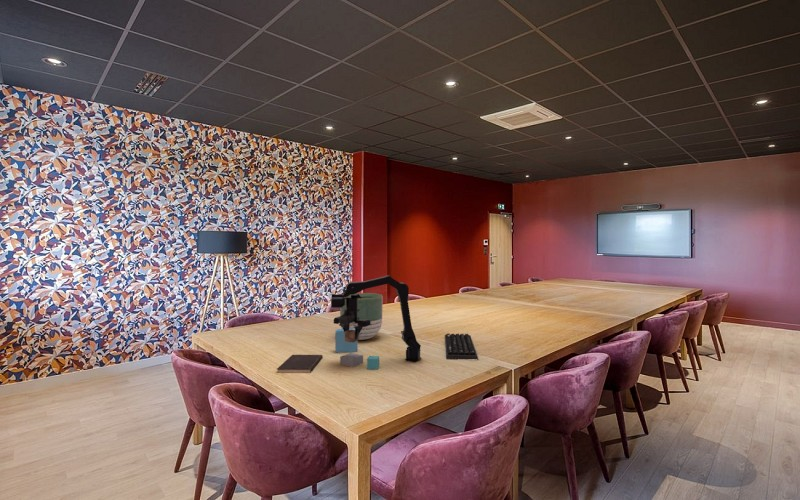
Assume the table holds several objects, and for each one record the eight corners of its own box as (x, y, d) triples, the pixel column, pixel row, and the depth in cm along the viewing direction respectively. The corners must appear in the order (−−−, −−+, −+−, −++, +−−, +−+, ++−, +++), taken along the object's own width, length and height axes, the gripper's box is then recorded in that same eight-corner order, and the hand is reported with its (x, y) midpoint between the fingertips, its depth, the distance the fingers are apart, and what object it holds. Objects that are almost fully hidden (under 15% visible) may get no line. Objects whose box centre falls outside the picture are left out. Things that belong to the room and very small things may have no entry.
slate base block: (363, 363, 193) (363, 355, 193) (352, 367, 186) (352, 359, 186) (351, 360, 197) (351, 352, 197) (340, 364, 191) (340, 356, 191)
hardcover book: (276, 373, 179) (276, 368, 179) (292, 359, 202) (292, 354, 202) (310, 374, 178) (310, 369, 178) (322, 359, 201) (322, 354, 201)
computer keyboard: (444, 338, 243) (444, 332, 243) (470, 339, 241) (470, 333, 241) (446, 360, 198) (446, 352, 198) (477, 361, 197) (477, 353, 196)
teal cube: (379, 366, 187) (379, 356, 187) (377, 369, 182) (377, 359, 182) (369, 366, 188) (369, 355, 188) (367, 369, 183) (366, 358, 183)
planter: (356, 346, 224) (356, 300, 223) (331, 338, 243) (331, 295, 243) (391, 338, 241) (391, 295, 241) (365, 331, 261) (365, 291, 261)
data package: (357, 349, 217) (356, 328, 217) (357, 351, 213) (357, 330, 212) (335, 350, 215) (335, 329, 215) (335, 352, 210) (335, 331, 210)
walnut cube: (358, 340, 193) (358, 330, 193) (353, 342, 188) (353, 332, 188) (350, 339, 195) (350, 329, 195) (344, 341, 191) (344, 331, 191)
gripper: (326, 308, 189) (326, 340, 189) (358, 311, 180) (358, 344, 180) (340, 305, 199) (340, 335, 199) (371, 308, 190) (371, 339, 190)
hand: (351, 338), depth 192 cm, fingers closed on walnut cube, 5 cm apart
